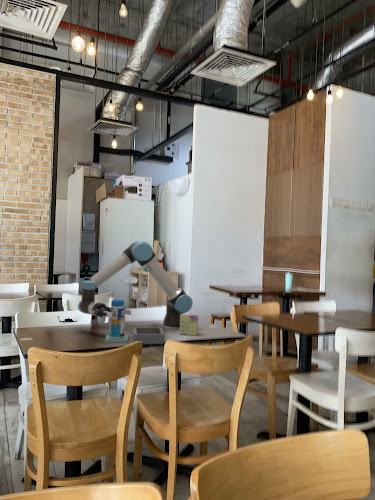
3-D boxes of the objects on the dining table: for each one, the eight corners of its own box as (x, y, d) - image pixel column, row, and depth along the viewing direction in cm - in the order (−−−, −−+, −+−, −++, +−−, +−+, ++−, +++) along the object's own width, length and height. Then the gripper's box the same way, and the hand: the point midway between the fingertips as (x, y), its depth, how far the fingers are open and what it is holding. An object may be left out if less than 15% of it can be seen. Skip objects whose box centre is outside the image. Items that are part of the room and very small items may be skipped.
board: (127, 337, 226) (128, 334, 226) (127, 342, 215) (128, 339, 215) (106, 337, 225) (106, 334, 225) (105, 342, 213) (105, 339, 213)
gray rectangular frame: (160, 335, 233) (161, 327, 233) (164, 343, 213) (164, 334, 213) (133, 335, 231) (133, 327, 231) (133, 344, 211) (134, 334, 211)
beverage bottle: (106, 336, 220) (107, 299, 220) (120, 334, 226) (121, 299, 226) (113, 339, 214) (114, 301, 214) (127, 337, 219) (128, 300, 219)
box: (197, 333, 243) (198, 314, 243) (196, 335, 237) (197, 315, 237) (180, 332, 244) (181, 313, 244) (179, 334, 238) (180, 314, 238)
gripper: (114, 313, 241) (138, 318, 227) (78, 317, 222) (102, 323, 208) (115, 301, 241) (138, 305, 227) (79, 304, 222) (102, 309, 208)
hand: (121, 313), depth 218 cm, fingers open, 13 cm apart
